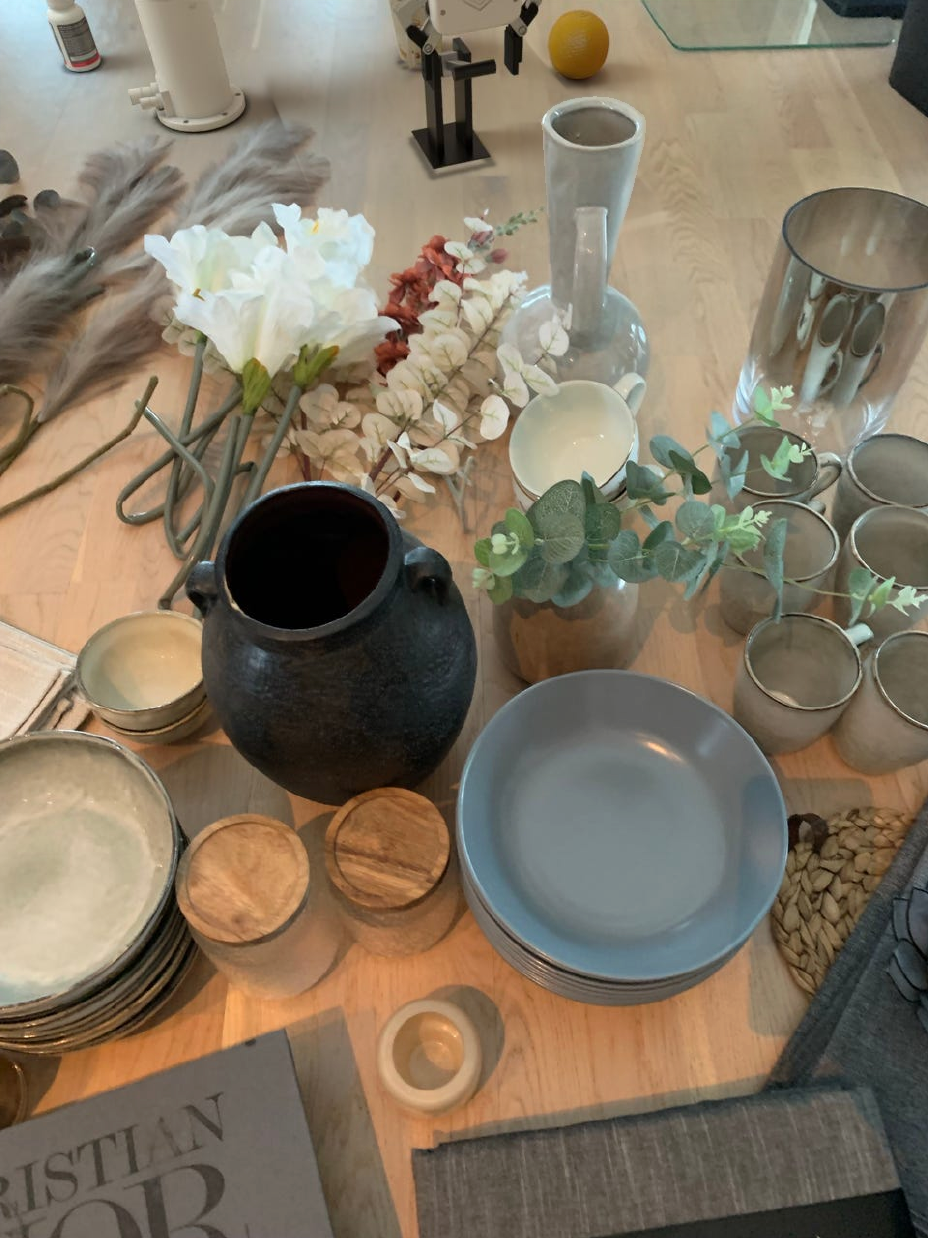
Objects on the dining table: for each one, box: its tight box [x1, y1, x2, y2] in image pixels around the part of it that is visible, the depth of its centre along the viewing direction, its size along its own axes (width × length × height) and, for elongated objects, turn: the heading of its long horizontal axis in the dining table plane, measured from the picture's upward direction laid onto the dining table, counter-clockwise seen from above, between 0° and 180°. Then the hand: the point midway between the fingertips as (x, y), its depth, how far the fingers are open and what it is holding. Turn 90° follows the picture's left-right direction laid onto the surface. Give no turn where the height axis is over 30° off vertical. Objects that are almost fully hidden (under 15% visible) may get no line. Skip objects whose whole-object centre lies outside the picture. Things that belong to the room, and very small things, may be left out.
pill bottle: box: [45, 0, 101, 73], centre depth 129 cm, size 5×5×10 cm
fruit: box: [547, 9, 610, 80], centre depth 124 cm, size 9×8×8 cm
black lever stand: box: [410, 36, 492, 170], centre depth 111 cm, size 10×8×13 cm
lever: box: [438, 50, 497, 82], centre depth 103 cm, size 13×5×2 cm, turn 19°
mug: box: [388, 0, 443, 68], centre depth 125 cm, size 8×13×10 cm, turn 174°
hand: (472, 77), depth 100 cm, fingers open, 9 cm apart
